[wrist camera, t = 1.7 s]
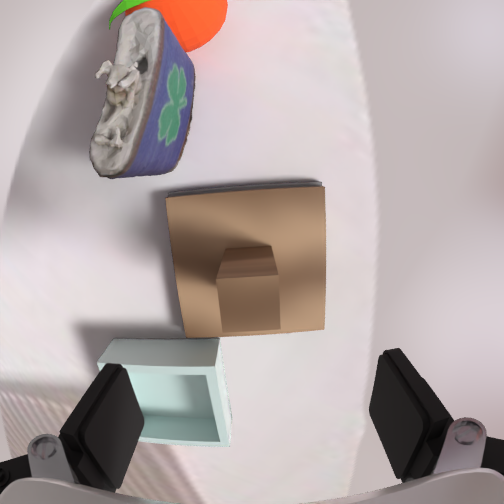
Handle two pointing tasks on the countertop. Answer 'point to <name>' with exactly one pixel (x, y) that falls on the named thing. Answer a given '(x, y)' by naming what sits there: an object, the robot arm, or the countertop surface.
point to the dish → (177, 389)
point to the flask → (144, 101)
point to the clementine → (183, 18)
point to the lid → (250, 260)
